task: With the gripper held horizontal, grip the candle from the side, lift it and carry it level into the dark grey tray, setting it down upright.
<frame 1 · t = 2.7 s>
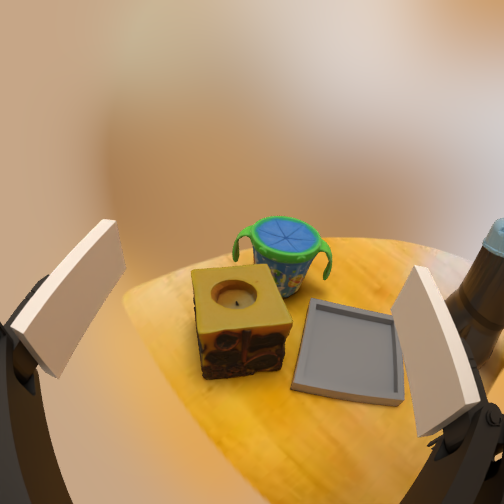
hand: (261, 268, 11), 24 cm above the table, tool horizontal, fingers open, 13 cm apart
tray: (350, 354, 35), on the table
candle: (235, 346, 36), on the table
snack cup: (277, 284, 47), on the table
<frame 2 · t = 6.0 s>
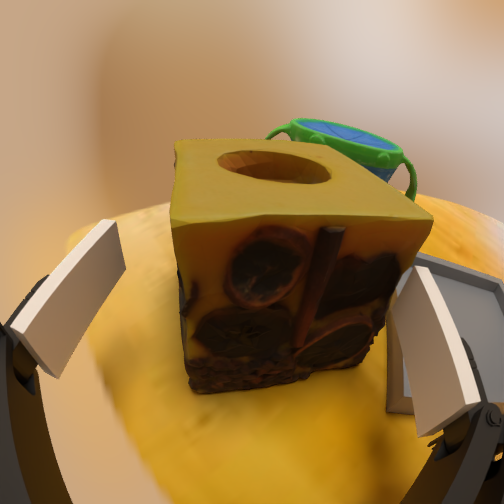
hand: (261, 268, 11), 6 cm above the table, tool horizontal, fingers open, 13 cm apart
tray: (461, 335, 16), on the table
candle: (261, 319, 18), on the table, touching gripper
snack cup: (325, 229, 28), on the table
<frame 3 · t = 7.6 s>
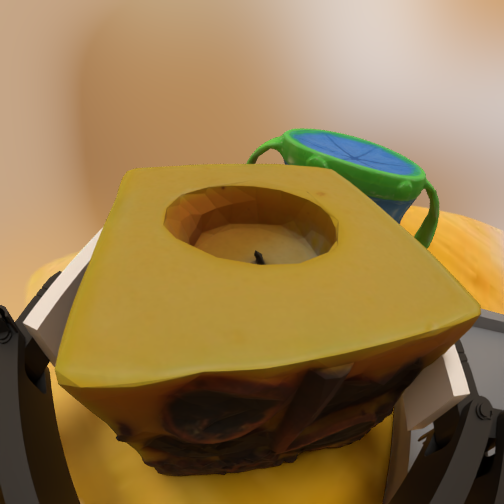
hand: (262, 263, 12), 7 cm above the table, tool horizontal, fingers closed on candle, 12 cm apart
tray: (477, 398, 12), on the table
candle: (244, 384, 14), on the table, touching gripper
snack cup: (325, 264, 23), on the table
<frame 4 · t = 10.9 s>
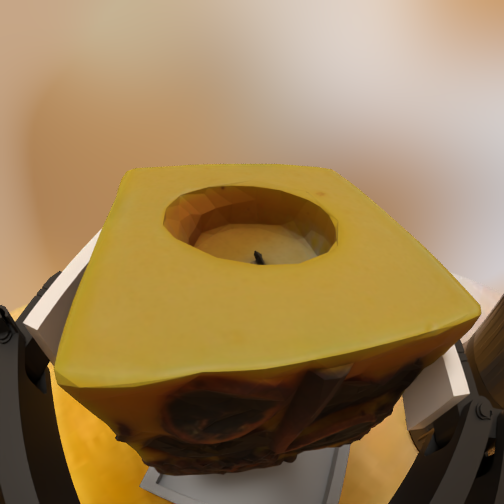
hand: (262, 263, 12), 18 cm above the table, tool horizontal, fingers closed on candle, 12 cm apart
tray: (258, 450, 19), on the table
candle: (244, 384, 14), point 11 cm above the table, touching gripper
when the fingers open (9 cm above the table, at t = 14.1 s): candle stays where it is, resting on tray.
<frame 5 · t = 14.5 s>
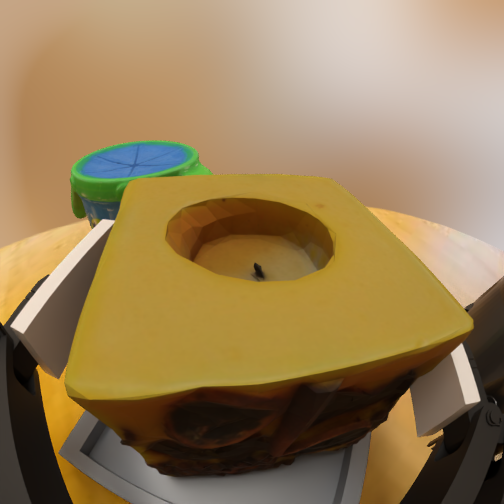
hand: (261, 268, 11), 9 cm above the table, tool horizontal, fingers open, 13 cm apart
tray: (237, 419, 14), on the table
candle: (244, 388, 14), point 2 cm above the table, touching tray
snack cup: (145, 260, 25), on the table
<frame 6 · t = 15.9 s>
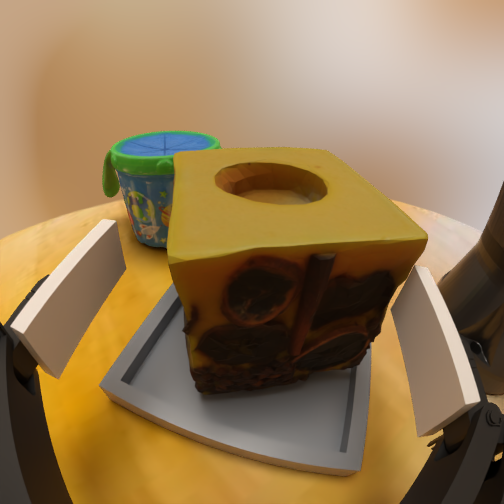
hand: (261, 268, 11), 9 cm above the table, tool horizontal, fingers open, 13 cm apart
tray: (257, 352, 18), on the table
candle: (264, 321, 18), point 2 cm above the table, touching tray
snack cup: (169, 233, 30), on the table
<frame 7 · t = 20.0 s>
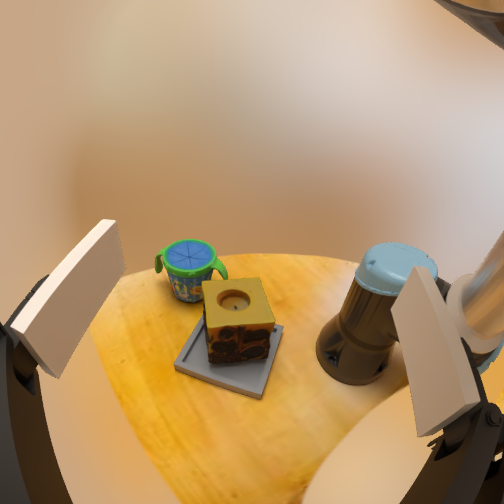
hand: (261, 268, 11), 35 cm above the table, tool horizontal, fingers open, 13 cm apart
tray: (231, 351, 47), on the table
candle: (233, 339, 47), point 2 cm above the table, touching tray
snack cup: (191, 292, 58), on the table
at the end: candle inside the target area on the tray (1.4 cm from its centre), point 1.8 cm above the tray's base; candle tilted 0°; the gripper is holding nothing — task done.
